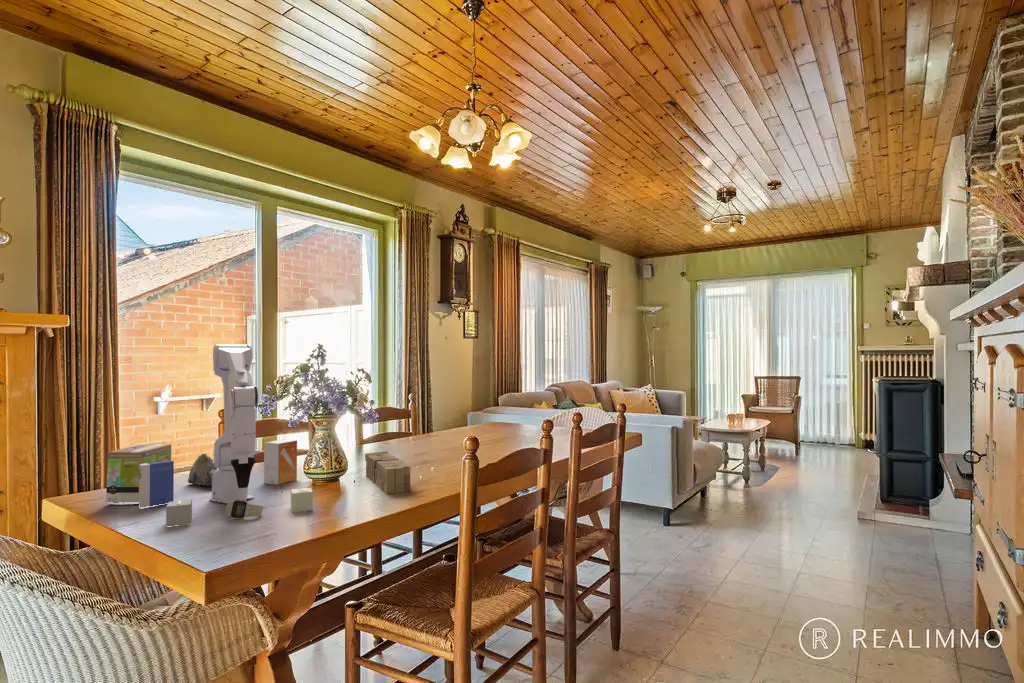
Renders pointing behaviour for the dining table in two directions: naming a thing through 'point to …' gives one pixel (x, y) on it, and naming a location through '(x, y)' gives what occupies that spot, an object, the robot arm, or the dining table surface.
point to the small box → (280, 461)
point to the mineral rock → (202, 471)
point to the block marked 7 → (301, 499)
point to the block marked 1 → (179, 513)
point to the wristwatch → (242, 509)
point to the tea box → (131, 469)
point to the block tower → (387, 472)
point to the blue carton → (156, 483)
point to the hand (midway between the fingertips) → (243, 487)
